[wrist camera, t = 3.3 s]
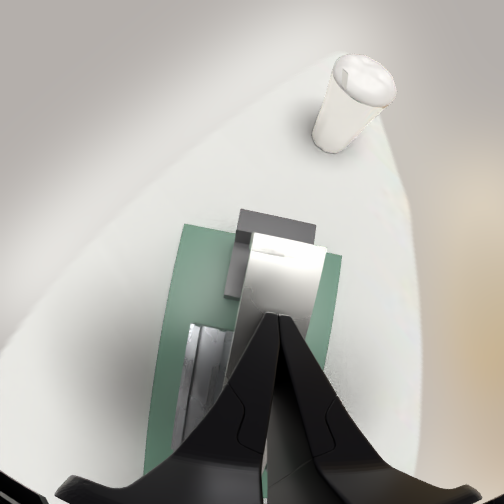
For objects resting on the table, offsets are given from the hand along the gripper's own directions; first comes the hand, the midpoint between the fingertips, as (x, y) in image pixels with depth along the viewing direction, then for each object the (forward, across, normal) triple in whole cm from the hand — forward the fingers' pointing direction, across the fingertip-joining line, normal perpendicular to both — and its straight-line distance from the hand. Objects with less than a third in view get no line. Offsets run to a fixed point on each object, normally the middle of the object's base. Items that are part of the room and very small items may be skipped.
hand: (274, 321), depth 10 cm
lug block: (+10, 0, +6) cm, 12 cm away
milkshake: (+19, -4, -3) cm, 20 cm away
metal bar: (-1, 0, +6) cm, 6 cm away
